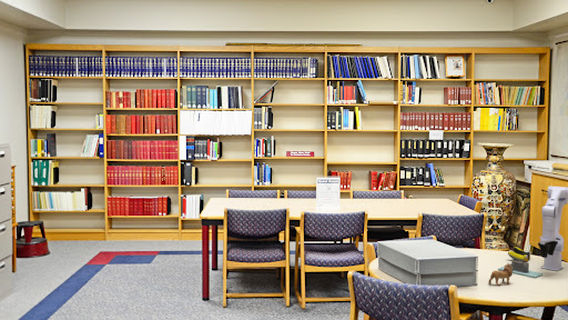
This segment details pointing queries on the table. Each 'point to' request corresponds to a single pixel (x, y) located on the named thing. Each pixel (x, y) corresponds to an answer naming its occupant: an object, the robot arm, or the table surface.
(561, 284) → the table surface
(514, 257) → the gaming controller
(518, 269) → the connector
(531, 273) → the desk mat
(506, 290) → the table surface
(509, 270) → the lion figurine
